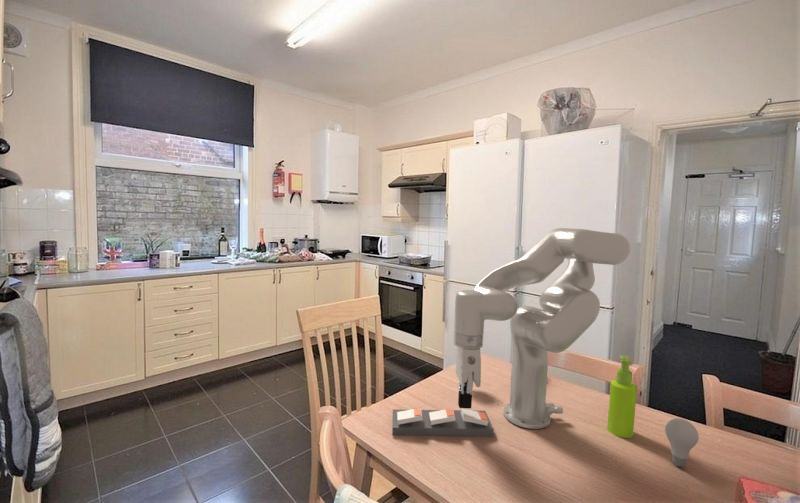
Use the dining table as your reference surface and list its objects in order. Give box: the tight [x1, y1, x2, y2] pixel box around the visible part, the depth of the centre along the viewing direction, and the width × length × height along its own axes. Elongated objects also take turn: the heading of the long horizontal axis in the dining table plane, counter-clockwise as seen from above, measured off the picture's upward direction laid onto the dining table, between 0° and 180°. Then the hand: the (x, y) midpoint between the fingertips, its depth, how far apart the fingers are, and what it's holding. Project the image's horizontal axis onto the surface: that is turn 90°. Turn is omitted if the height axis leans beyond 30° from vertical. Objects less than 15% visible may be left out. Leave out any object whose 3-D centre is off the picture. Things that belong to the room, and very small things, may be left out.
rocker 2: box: [460, 408, 488, 426], centre depth 97 cm, size 6×4×1 cm, turn 91°
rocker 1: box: [397, 407, 423, 425], centre depth 96 cm, size 6×4×1 cm, turn 90°
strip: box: [391, 408, 494, 437], centre depth 98 cm, size 26×9×3 cm, turn 91°
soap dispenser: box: [607, 354, 638, 439], centre depth 97 cm, size 6×7×20 cm
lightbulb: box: [664, 417, 700, 468], centre depth 84 cm, size 6×6×11 cm
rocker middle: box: [429, 407, 455, 425], centre depth 96 cm, size 6×4×1 cm, turn 90°
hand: (464, 406), depth 96 cm, fingers closed
